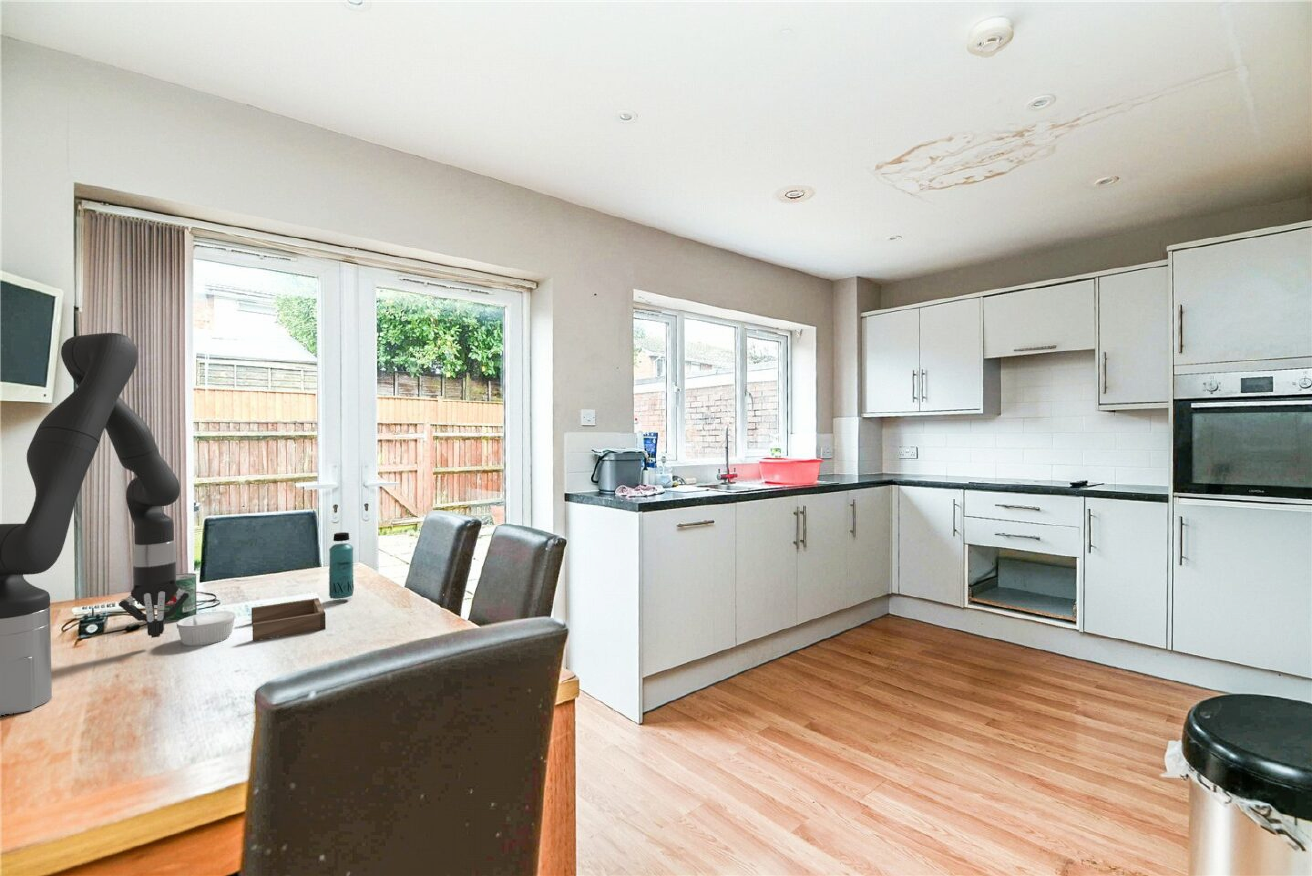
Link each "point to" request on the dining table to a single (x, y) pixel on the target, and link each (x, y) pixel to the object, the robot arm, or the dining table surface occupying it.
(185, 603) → the canned tomato
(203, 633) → the ramekin
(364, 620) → the dining table surface
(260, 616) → the walnut bay
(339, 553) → the beverage bottle
